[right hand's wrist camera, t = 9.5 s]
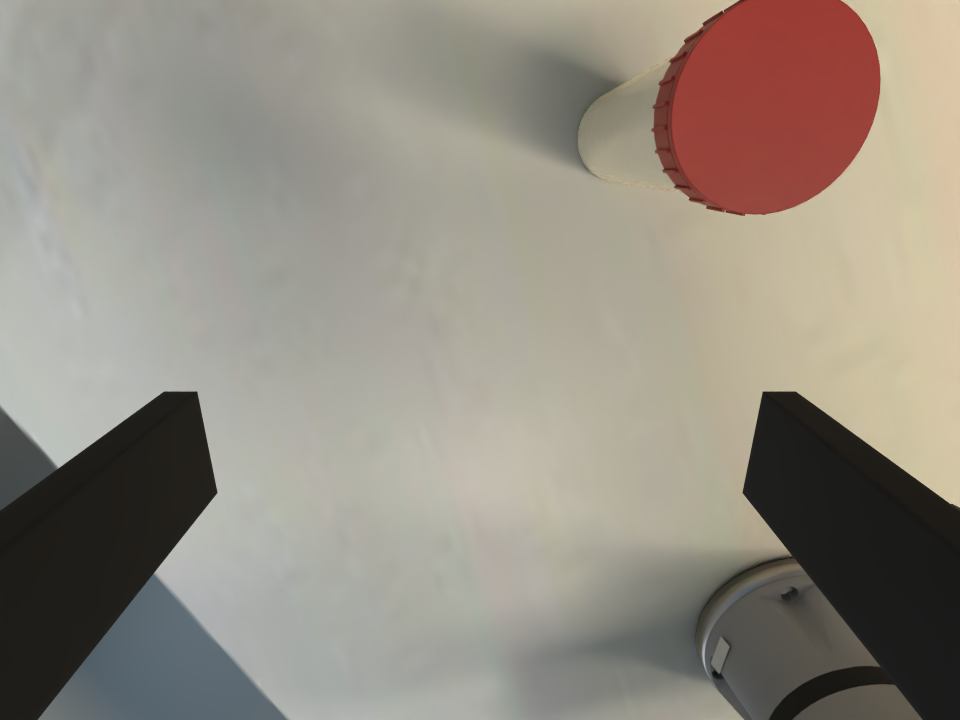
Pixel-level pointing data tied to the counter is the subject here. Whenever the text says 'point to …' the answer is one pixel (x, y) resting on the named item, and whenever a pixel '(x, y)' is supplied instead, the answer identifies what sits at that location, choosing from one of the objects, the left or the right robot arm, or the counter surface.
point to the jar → (625, 133)
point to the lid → (767, 104)
